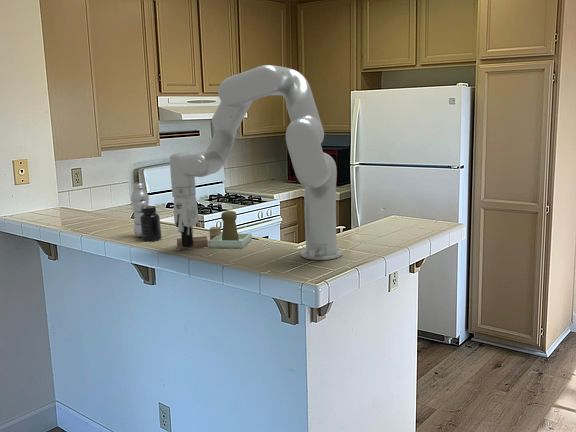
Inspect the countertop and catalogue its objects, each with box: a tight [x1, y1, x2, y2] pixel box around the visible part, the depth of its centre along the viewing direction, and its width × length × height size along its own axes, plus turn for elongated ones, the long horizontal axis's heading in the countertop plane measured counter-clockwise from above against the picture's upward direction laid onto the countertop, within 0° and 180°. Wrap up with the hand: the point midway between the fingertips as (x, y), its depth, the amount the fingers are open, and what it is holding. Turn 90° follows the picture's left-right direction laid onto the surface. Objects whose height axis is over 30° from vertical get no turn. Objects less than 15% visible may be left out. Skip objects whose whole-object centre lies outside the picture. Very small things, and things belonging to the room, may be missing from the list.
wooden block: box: [176, 235, 209, 250], centre depth 193 cm, size 6×10×3 cm, turn 102°
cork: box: [220, 210, 239, 241], centre depth 193 cm, size 6×6×11 cm
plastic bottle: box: [130, 182, 150, 238], centre depth 209 cm, size 6×7×20 cm
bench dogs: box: [180, 226, 222, 241], centre depth 199 cm, size 3×14×5 cm, turn 77°
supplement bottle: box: [140, 205, 162, 242], centre depth 205 cm, size 7×7×12 cm
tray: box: [209, 232, 253, 249], centre depth 194 cm, size 11×11×2 cm
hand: (187, 246), depth 188 cm, fingers closed
